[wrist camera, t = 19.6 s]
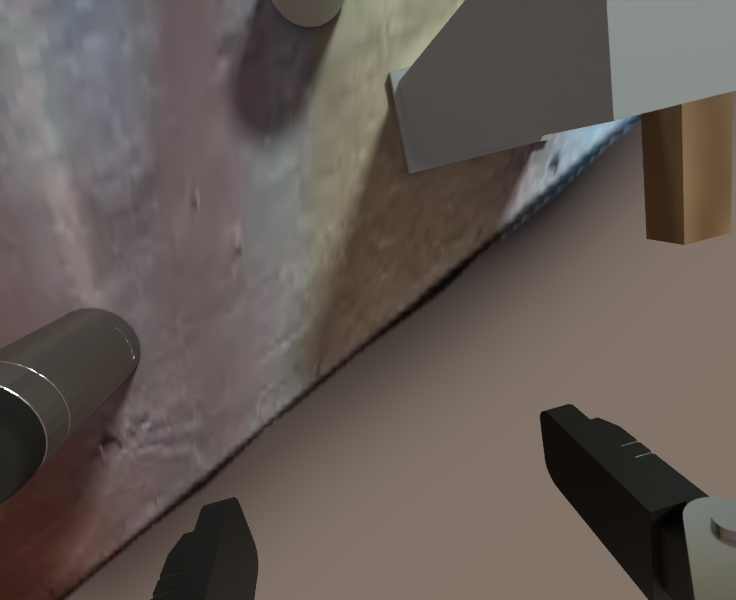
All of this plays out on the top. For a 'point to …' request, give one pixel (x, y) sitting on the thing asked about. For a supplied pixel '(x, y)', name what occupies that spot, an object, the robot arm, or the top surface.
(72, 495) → the top surface
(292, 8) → the can
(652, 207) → the peg
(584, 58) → the stand
